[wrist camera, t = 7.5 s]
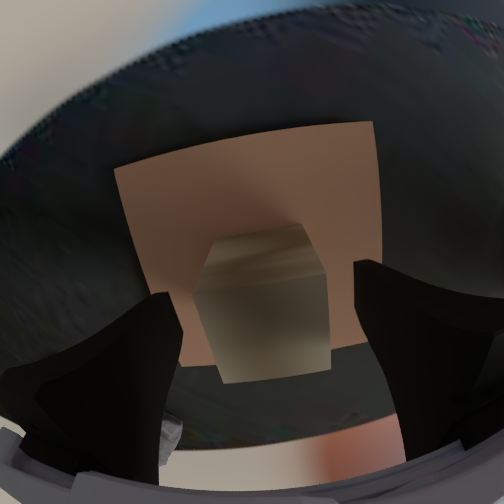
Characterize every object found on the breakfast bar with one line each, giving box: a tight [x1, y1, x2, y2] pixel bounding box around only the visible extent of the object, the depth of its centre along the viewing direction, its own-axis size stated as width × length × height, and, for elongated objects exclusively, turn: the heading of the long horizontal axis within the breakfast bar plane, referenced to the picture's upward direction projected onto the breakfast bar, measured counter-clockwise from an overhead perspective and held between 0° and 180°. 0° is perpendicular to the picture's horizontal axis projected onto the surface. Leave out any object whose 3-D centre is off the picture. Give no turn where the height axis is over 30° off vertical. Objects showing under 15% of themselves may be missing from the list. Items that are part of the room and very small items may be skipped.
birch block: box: [192, 224, 331, 383], centre depth 11 cm, size 4×4×5 cm
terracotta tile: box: [114, 121, 382, 367], centre depth 14 cm, size 12×12×2 cm
